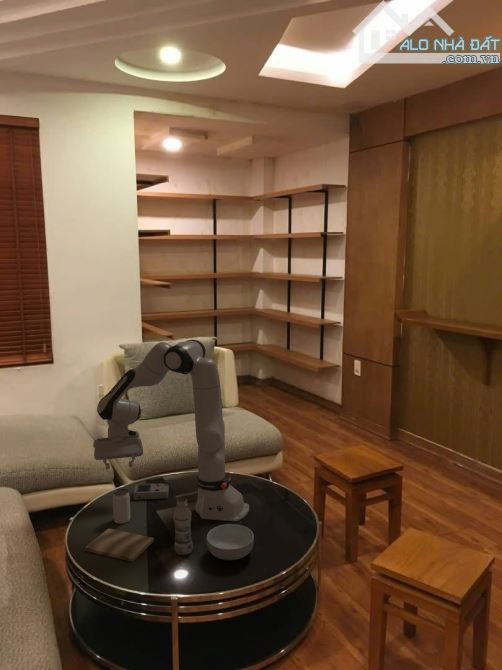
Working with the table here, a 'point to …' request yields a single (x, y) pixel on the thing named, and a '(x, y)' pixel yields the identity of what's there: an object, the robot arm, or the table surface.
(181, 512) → the plastic bottle
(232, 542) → the cereal bowl
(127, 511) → the can
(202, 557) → the table surface
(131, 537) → the oak board
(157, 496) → the handheld gaming device
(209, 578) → the table surface
